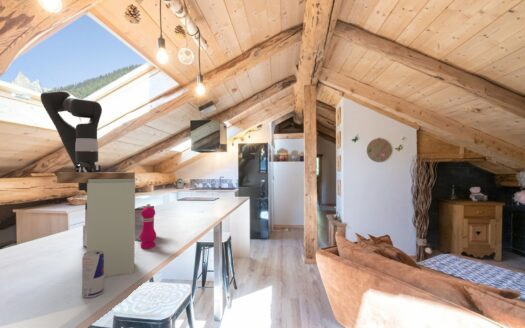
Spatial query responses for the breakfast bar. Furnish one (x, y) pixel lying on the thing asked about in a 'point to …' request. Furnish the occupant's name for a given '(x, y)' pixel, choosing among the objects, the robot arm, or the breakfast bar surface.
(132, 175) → the bar
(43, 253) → the breakfast bar surface
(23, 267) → the breakfast bar surface
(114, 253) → the post
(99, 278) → the energy drink
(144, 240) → the pepper mill
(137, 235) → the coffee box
